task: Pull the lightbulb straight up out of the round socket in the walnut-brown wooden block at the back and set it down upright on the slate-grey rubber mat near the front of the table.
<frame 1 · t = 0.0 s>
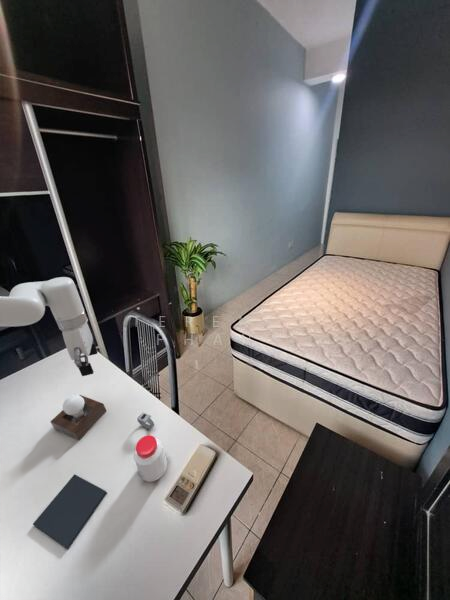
hand: (90, 363, 79), 23 cm above the table, tool pointing down, fingers open, 9 cm apart
lightbulb: (81, 420, 87), resting in socket block
socket block: (81, 419, 87), on the table
mat: (72, 508, 64), on the table
pill bottle: (153, 467, 72), on the table
wristwatch: (147, 426, 84), on the table
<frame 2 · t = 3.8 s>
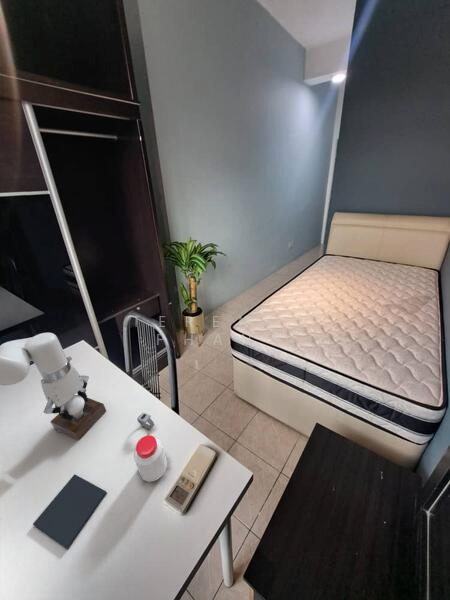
hand: (75, 408, 84), 6 cm above the table, tool pointing down, fingers closed on lightbulb, 6 cm apart
lightbulb: (81, 420, 87), resting in socket block, touching gripper
everything else where it was.
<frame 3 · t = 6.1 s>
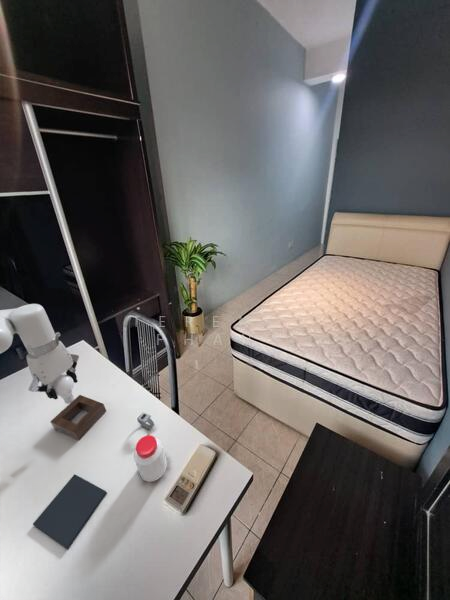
hand: (64, 388, 79), 16 cm above the table, tool pointing down, fingers closed on lightbulb, 6 cm apart
lightbulb: (70, 402, 82), point 10 cm above the table, touching gripper
everything else where it was.
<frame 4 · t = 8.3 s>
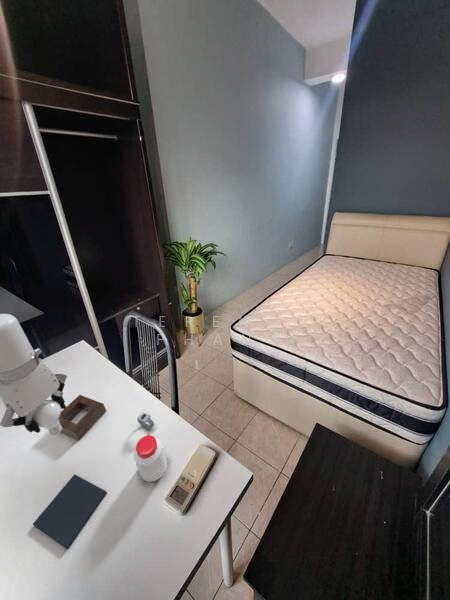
hand: (48, 417, 64), 22 cm above the table, tool pointing down, fingers closed on lightbulb, 6 cm apart
lightbulb: (57, 432, 67), point 15 cm above the table, touching gripper
everything else where it was.
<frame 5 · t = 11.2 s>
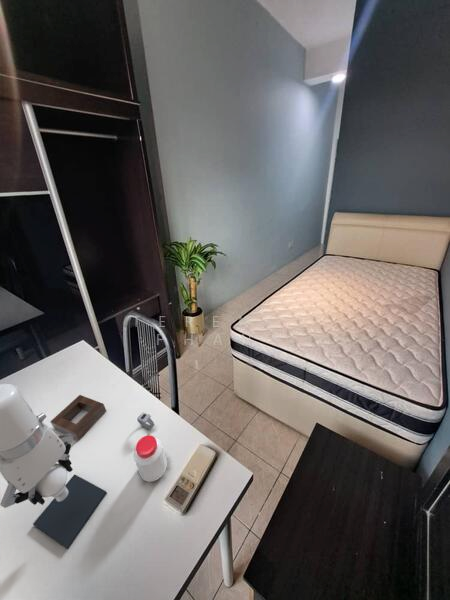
hand: (54, 483, 58), 13 cm above the table, tool pointing down, fingers closed on lightbulb, 6 cm apart
lightbulb: (63, 496, 61), point 6 cm above the table, touching gripper
everything else where it was.
when the fingers open (7 cm above the table, at t = 13.1 s): lightbulb stays where it is, resting on mat.
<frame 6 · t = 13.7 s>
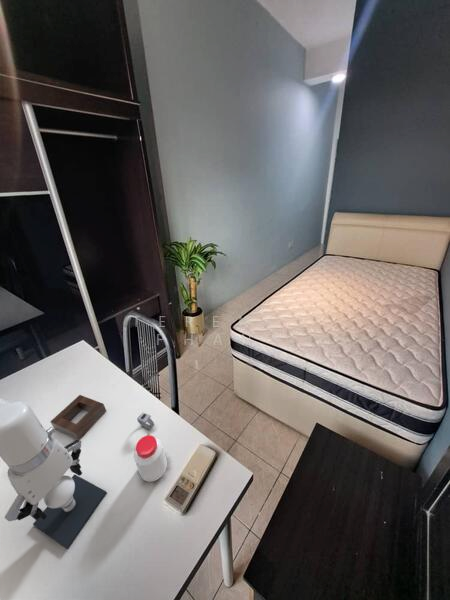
hand: (60, 492, 60), 8 cm above the table, tool pointing down, fingers open, 9 cm apart
lightbulb: (70, 507, 64), point 1 cm above the table, touching mat
everything else where it was.
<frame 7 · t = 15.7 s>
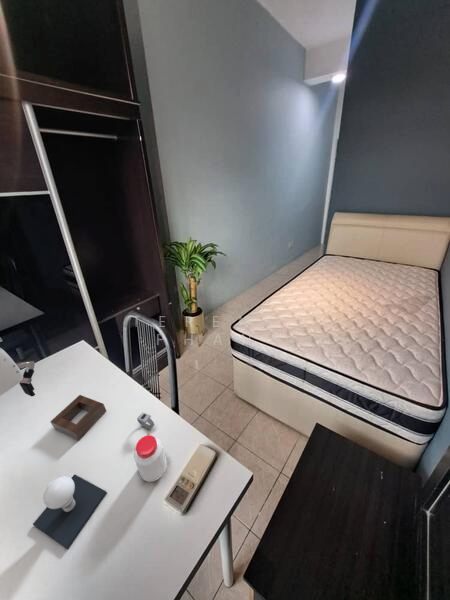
hand: (9, 409, 60), 27 cm above the table, tool pointing down, fingers open, 9 cm apart
nothing on the table moved.
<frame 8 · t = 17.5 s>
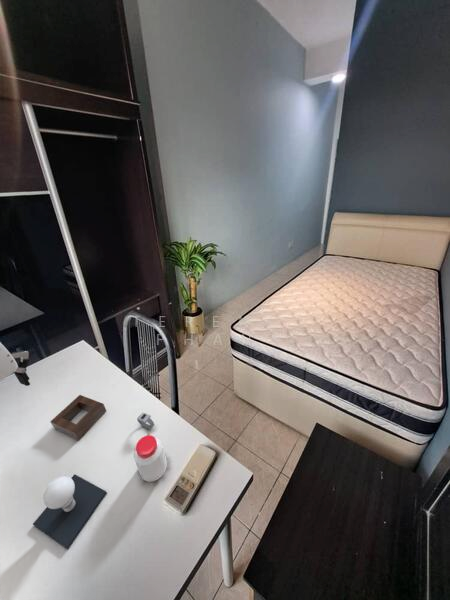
hand: (5, 398, 61), 28 cm above the table, tool pointing down, fingers open, 9 cm apart
nothing on the table moved.
at the end: lightbulb inside the target area on the mat (0.1 cm from its centre), point 0.8 cm above the mat's base; lightbulb tilted 1°; lightbulb touching mat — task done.
